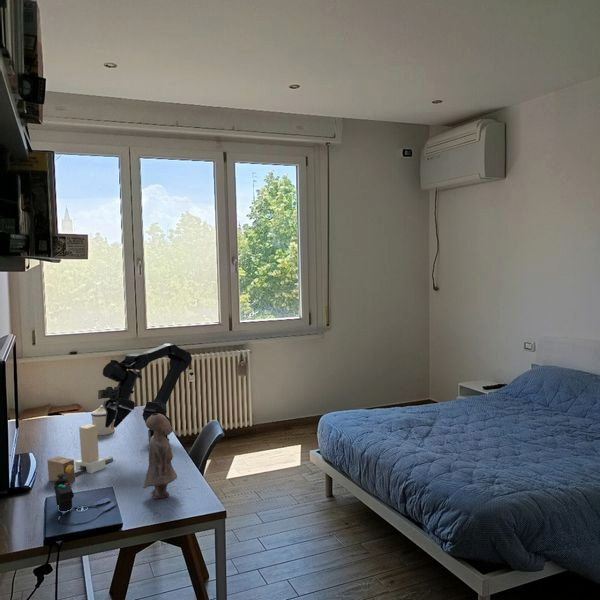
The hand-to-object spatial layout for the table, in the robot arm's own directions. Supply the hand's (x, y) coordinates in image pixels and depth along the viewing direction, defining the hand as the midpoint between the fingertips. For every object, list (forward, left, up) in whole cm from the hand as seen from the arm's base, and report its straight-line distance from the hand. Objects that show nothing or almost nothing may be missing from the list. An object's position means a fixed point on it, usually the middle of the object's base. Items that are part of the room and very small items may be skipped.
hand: (110, 427), depth 201 cm
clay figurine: (-2, +43, -12) cm, 44 cm away
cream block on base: (+9, +5, -12) cm, 16 cm away
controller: (+24, +36, -12) cm, 45 cm away
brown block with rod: (+11, +6, -12) cm, 17 cm away
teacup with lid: (-7, -37, -12) cm, 40 cm away
